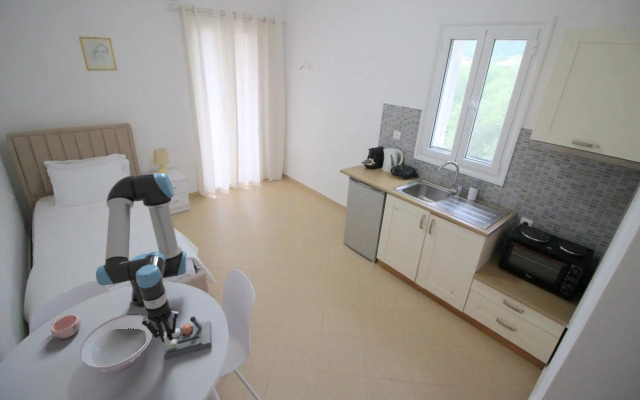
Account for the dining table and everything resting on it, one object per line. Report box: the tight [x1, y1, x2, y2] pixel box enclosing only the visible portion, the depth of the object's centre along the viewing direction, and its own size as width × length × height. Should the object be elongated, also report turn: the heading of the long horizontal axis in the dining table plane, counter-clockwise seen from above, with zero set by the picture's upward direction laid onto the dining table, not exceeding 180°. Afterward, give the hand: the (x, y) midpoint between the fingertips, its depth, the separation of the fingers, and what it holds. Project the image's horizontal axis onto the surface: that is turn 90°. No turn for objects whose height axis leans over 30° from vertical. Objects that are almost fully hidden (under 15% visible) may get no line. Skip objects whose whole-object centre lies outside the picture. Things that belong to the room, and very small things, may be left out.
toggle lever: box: [189, 315, 202, 329], centre depth 127 cm, size 2×2×7 cm
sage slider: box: [171, 339, 178, 349], centre depth 119 cm, size 2×2×3 cm
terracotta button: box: [181, 323, 193, 336], centre depth 127 cm, size 4×4×4 cm
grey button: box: [172, 327, 182, 339], centre depth 126 cm, size 4×4×4 cm
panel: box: [163, 320, 213, 360], centre depth 125 cm, size 12×18×4 cm, turn 110°
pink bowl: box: [50, 314, 82, 340], centre depth 128 cm, size 12×10×6 cm
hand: (169, 345), depth 119 cm, fingers closed
